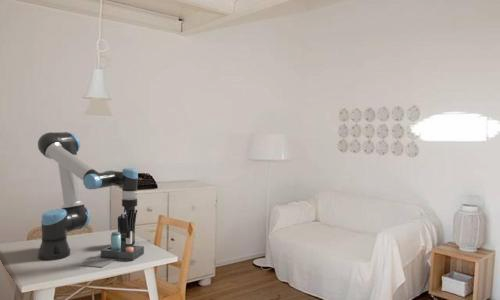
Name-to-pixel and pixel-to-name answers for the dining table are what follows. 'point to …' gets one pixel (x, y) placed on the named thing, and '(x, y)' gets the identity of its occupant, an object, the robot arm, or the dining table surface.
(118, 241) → the cylinder
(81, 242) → the dining table surface
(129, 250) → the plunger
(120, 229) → the canister
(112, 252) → the housing
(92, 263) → the mat
